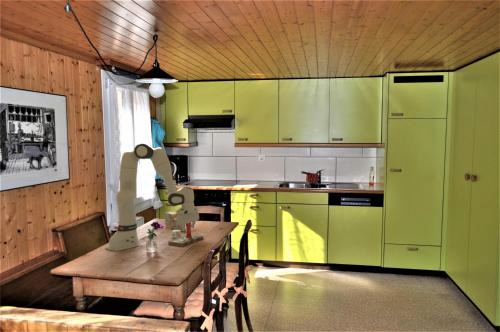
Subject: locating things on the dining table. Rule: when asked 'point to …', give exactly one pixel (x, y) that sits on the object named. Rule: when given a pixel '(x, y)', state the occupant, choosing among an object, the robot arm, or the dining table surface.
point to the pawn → (188, 230)
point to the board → (185, 240)
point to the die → (176, 234)
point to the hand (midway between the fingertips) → (188, 229)
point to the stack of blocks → (172, 221)
